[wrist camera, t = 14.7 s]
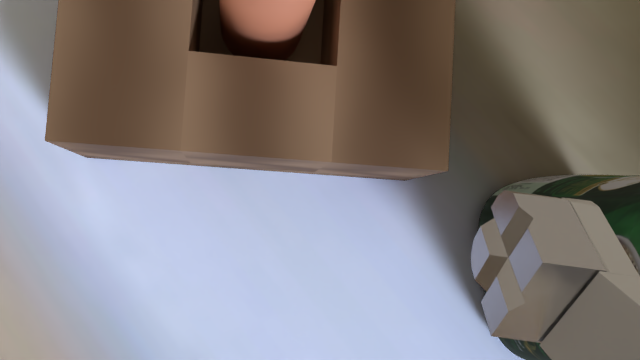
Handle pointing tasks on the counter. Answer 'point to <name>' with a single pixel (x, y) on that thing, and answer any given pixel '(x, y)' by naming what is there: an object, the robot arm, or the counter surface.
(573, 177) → the coffee jar
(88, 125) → the socket plate
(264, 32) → the peg
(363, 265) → the counter surface
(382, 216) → the counter surface
